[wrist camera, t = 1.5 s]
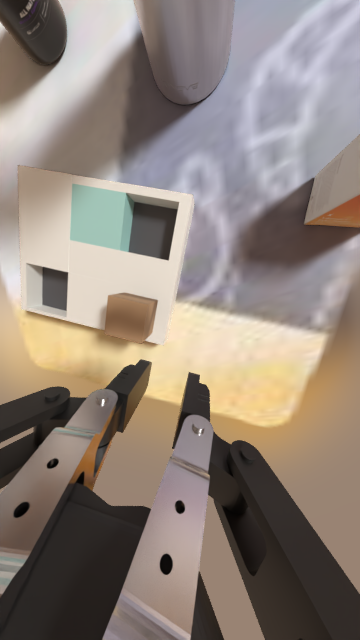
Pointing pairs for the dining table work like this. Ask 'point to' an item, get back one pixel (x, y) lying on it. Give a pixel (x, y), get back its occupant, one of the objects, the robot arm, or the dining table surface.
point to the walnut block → (130, 316)
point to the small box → (337, 191)
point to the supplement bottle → (36, 27)
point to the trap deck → (99, 246)
